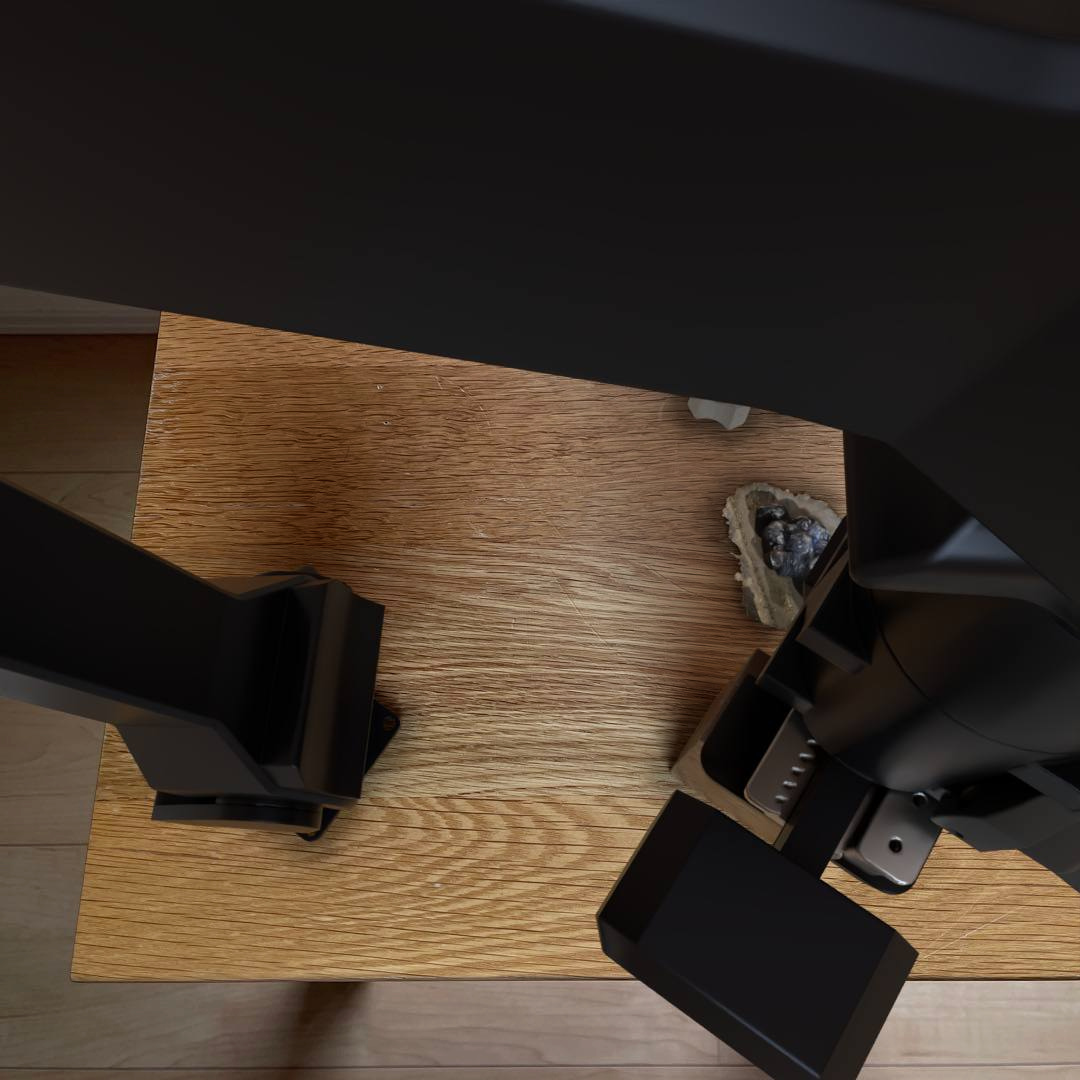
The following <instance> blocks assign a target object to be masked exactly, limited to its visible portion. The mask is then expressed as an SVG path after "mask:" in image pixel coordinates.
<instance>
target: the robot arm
mask: <svg viewBox="0 0 1080 1080" xmlns="http://www.w3.org/2000/svg"><path fill="white" fill-rule="evenodd" d="M0 286H3V287H10V288H15V289H21V290H28V291H32V292H33V291H35V292H40V293H47V294H52V295H57V296H58V295H59V296H64V297H71V298H78V299H82V300H89V301H96V302H102V303H106V304H107V303H108V304H114V305H119V306H120V305H121V306H126V307H133V308H139V309H144V310H151V311H156V312H163V313H169V314H176V315H182V316H188V317H194V318H200V319H204V320H205V319H206V320H211V321H212V320H213V321H217V322H225V323H231V324H237V325H242V326H248V327H256V328H261V329H267V330H273V331H279V332H284V333H285V332H286V333H292V334H298V335H305V336H310V337H317V338H323V339H330V340H335V341H342V342H347V343H348V342H349V343H354V344H358V345H359V344H360V345H366V346H372V347H379V348H385V349H391V350H397V351H404V352H410V353H414V354H415V353H416V354H421V355H427V356H433V357H440V358H445V359H446V358H447V359H450V360H451V359H452V360H458V361H459V360H460V361H464V362H471V363H476V364H482V365H483V364H484V365H489V366H495V367H500V368H507V369H513V370H519V371H526V372H532V373H533V372H534V373H538V374H545V375H550V376H556V377H557V376H558V377H563V378H569V379H575V380H581V381H588V382H593V383H600V384H607V385H612V386H618V387H625V388H631V389H636V390H642V391H649V392H654V393H661V394H667V395H673V396H678V397H685V398H690V397H691V398H697V399H703V400H710V401H716V402H722V403H728V404H734V405H740V406H747V407H751V408H752V409H757V410H761V411H765V412H766V411H767V412H772V413H776V414H779V415H783V416H787V417H791V418H794V419H799V420H801V421H804V422H805V421H806V422H809V423H813V424H817V425H820V426H824V427H828V428H831V429H835V430H839V431H842V432H841V433H842V449H843V450H842V452H843V468H844V469H843V470H844V473H843V474H844V490H845V491H844V492H845V510H846V511H845V513H846V514H845V515H844V516H843V517H842V519H841V522H840V524H839V525H838V527H837V528H836V530H835V532H834V533H833V535H832V537H831V538H830V540H829V541H828V543H827V545H826V546H825V548H824V550H823V551H822V553H821V554H820V556H819V558H818V559H817V561H816V562H815V564H814V566H813V567H812V569H811V571H810V572H809V574H808V575H807V577H806V579H805V580H804V582H803V605H802V607H801V608H800V610H799V612H798V613H797V615H796V616H795V618H794V620H793V621H792V623H791V625H790V626H789V628H787V629H786V631H785V633H784V635H783V636H782V638H781V639H780V641H779V643H778V644H777V646H776V647H775V649H774V650H773V652H772V654H771V657H770V659H769V661H768V662H767V664H766V666H765V667H764V669H763V670H762V672H761V674H760V675H759V677H758V679H757V678H756V677H754V676H753V675H751V674H746V676H745V678H744V679H743V681H742V682H741V684H740V686H739V687H738V689H737V691H736V692H735V694H734V695H733V697H732V699H731V700H730V702H729V703H728V705H727V707H726V708H725V710H724V712H723V713H722V715H721V716H720V718H719V720H718V721H717V723H716V725H715V726H714V728H713V729H712V731H711V733H710V734H709V736H708V738H707V739H706V741H705V742H704V744H703V746H702V749H701V753H700V763H701V767H702V770H703V772H704V774H705V775H706V777H707V778H708V779H709V780H710V781H711V782H712V783H714V784H715V785H717V786H718V787H720V788H721V789H723V790H724V791H726V792H727V793H729V794H730V795H732V796H733V797H735V798H736V799H738V800H739V801H741V802H742V803H744V804H745V805H747V806H748V807H750V808H751V809H753V810H754V811H756V812H757V813H759V814H760V815H762V816H763V817H765V818H766V819H768V820H769V821H771V822H772V823H773V824H775V825H776V826H778V827H779V828H781V831H780V832H779V834H778V836H777V838H776V839H775V841H774V843H772V844H770V843H768V841H766V840H764V839H763V838H761V837H760V836H758V835H757V834H755V833H754V832H752V831H751V830H749V829H748V828H746V827H745V826H743V825H742V824H741V823H739V822H737V821H736V820H734V819H733V818H732V817H730V816H728V814H726V813H724V812H723V811H721V810H719V809H718V808H717V807H714V806H712V805H710V804H708V803H706V802H704V801H702V800H700V799H698V798H695V797H694V796H692V795H691V794H688V793H686V792H683V791H681V790H679V789H678V788H676V789H675V790H674V791H672V793H670V795H669V797H668V798H667V800H666V801H665V802H664V805H663V806H662V807H661V808H660V810H659V811H658V812H657V814H656V816H655V817H654V819H653V821H652V822H651V823H650V825H649V826H648V828H647V830H646V831H645V833H644V835H643V836H642V838H641V840H640V841H639V843H638V845H637V846H636V847H635V849H634V851H633V852H632V854H631V855H630V857H629V859H628V860H627V862H626V864H625V866H624V867H623V869H622V871H621V872H620V874H619V875H618V877H617V878H616V880H615V882H614V883H613V885H612V886H611V888H610V890H609V891H608V893H607V895H606V896H605V898H604V900H603V901H602V902H601V904H600V906H599V908H598V909H597V911H596V912H595V914H594V918H595V922H596V927H597V933H598V939H599V944H600V948H601V952H603V954H604V955H605V956H606V957H608V958H609V959H610V960H612V961H613V963H615V964H616V965H618V966H619V967H621V968H622V969H623V970H624V971H626V972H627V973H628V974H630V976H632V977H633V978H635V979H636V980H638V981H639V982H641V983H642V984H644V985H645V986H646V987H648V988H649V989H650V990H652V991H653V992H654V993H656V995H658V996H660V997H661V998H662V999H664V1000H665V1001H666V1002H668V1003H669V1004H671V1005H672V1006H673V1007H674V1008H676V1009H677V1010H679V1011H680V1012H681V1013H683V1014H684V1015H685V1016H687V1017H688V1018H689V1019H691V1020H692V1021H693V1022H695V1023H697V1024H698V1025H699V1026H700V1027H702V1028H703V1029H704V1030H705V1031H707V1032H709V1033H710V1034H711V1035H713V1036H714V1037H715V1038H717V1039H718V1040H719V1041H721V1042H722V1043H724V1044H725V1045H726V1046H728V1047H729V1048H731V1049H732V1050H733V1051H735V1052H736V1053H737V1054H739V1055H740V1056H741V1057H742V1058H744V1059H745V1060H747V1062H749V1063H750V1064H752V1065H753V1066H755V1067H756V1068H758V1069H759V1070H760V1071H762V1072H763V1073H764V1074H766V1075H767V1076H768V1077H770V1078H771V1079H773V1080H857V1079H858V1077H859V1075H860V1073H861V1071H862V1069H863V1067H864V1065H865V1063H866V1061H867V1059H868V1058H869V1055H870V1053H871V1051H872V1050H873V1047H874V1045H875V1043H876V1041H877V1040H878V1037H879V1035H880V1033H881V1031H882V1029H883V1028H884V1025H885V1024H886V1021H887V1019H888V1017H889V1016H890V1014H891V1011H892V1010H893V1008H894V1005H895V1003H896V1001H897V999H898V997H899V996H900V994H901V992H902V990H903V988H904V985H905V983H906V982H907V980H908V978H909V975H910V974H911V972H912V970H913V968H914V966H915V964H916V962H917V960H918V958H919V956H920V952H919V951H918V950H917V949H916V948H915V947H914V946H913V944H911V943H910V942H909V941H908V940H907V939H906V938H905V937H904V936H903V935H902V934H901V933H900V932H899V931H898V930H897V929H896V928H894V927H893V926H891V925H890V924H888V923H887V922H885V921H884V920H883V919H881V918H880V917H878V916H877V915H876V914H874V913H872V912H871V911H869V910H868V909H866V908H865V907H863V906H862V905H860V904H859V903H857V902H856V901H854V900H853V899H851V898H850V897H848V896H847V895H846V894H844V893H842V892H841V891H840V890H838V889H837V888H835V887H834V886H833V885H831V884H829V883H827V882H826V881H825V880H823V879H822V876H823V875H824V872H825V871H826V869H827V867H828V865H829V863H831V864H833V865H835V866H836V867H838V868H839V869H841V870H842V871H844V872H845V873H846V874H848V875H850V876H851V877H853V878H854V879H856V880H857V881H858V882H861V883H862V884H864V885H866V886H868V887H870V888H873V889H875V890H876V891H878V892H880V893H883V894H886V895H890V896H899V895H902V894H905V893H907V892H908V891H910V890H911V889H912V888H913V886H914V885H915V884H916V882H917V880H918V878H919V877H920V874H921V873H922V871H923V870H924V869H923V868H924V867H925V865H926V864H927V861H928V859H929V857H930V855H931V853H932V851H933V849H934V848H935V846H936V844H937V842H938V839H940V836H941V834H942V832H943V830H945V831H946V832H948V833H949V834H951V835H952V836H954V837H956V838H957V839H959V840H960V841H962V842H963V843H964V844H966V845H968V846H970V847H971V848H973V849H974V850H976V851H977V852H979V853H988V852H998V851H1010V850H1017V852H1018V851H1019V852H1020V853H1022V854H1023V855H1024V856H1027V857H1028V858H1029V859H1031V860H1033V861H1034V862H1036V863H1038V864H1039V865H1040V866H1042V867H1044V868H1045V869H1047V870H1048V871H1050V872H1052V873H1053V874H1054V875H1055V876H1057V878H1059V879H1060V880H1062V881H1063V882H1064V883H1066V884H1067V885H1068V886H1069V887H1071V888H1072V889H1073V890H1074V891H1075V892H1077V893H1078V894H1080V0H0ZM385 615H386V605H385V604H381V603H379V602H376V601H373V600H370V599H367V598H365V597H363V596H361V595H359V594H357V593H355V591H354V589H353V587H351V586H350V585H349V584H348V583H347V582H345V581H342V580H340V579H339V578H337V577H336V578H332V577H329V576H326V575H322V574H321V572H320V571H319V570H318V569H317V568H316V567H314V566H311V565H300V566H298V567H296V568H294V569H293V570H274V571H267V572H266V571H265V572H262V573H258V574H257V575H254V576H253V575H252V576H233V577H232V576H230V577H206V578H205V577H204V578H203V577H201V576H199V575H196V574H195V573H193V572H192V571H189V570H187V569H185V568H183V567H181V566H180V565H177V564H176V563H174V562H171V561H170V560H167V559H165V558H163V557H162V556H159V555H157V554H156V553H153V552H152V551H150V550H148V549H146V548H144V547H142V546H139V545H138V544H136V543H134V542H132V541H131V540H128V539H126V538H124V537H122V536H120V535H118V534H116V533H114V532H113V531H111V530H108V529H106V528H104V527H103V526H101V525H98V524H97V523H94V522H93V521H91V520H89V519H87V518H85V517H84V516H81V515H79V514H77V513H75V512H73V511H71V510H69V509H68V508H65V507H63V506H62V505H60V504H57V503H56V502H53V501H51V500H49V499H47V498H46V497H45V496H44V497H43V496H42V495H40V494H38V493H36V492H34V491H32V490H30V489H28V488H26V487H24V486H23V485H20V484H18V483H16V482H14V481H12V480H10V479H8V478H6V477H4V476H2V475H1V474H0V697H1V698H5V699H10V700H13V701H17V702H21V703H25V704H30V705H33V706H37V707H40V708H41V707H42V708H45V709H49V710H53V711H56V712H61V713H64V714H69V715H72V716H77V717H81V718H85V719H89V720H93V721H95V722H100V723H104V724H108V725H111V726H113V727H115V728H116V730H117V732H118V734H119V735H120V737H121V739H122V741H123V742H124V744H125V747H126V748H127V750H128V752H129V753H130V756H131V757H132V759H133V761H134V762H135V764H136V766H137V767H138V769H139V771H140V772H141V774H142V776H143V778H144V780H145V781H146V782H147V786H149V788H150V789H151V790H153V791H155V796H154V800H153V801H154V802H153V805H152V806H153V807H152V811H151V817H150V821H155V822H161V823H169V824H177V825H184V826H185V825H186V826H197V827H198V826H199V827H213V828H226V829H238V830H239V829H241V830H256V831H268V832H269V831H270V832H281V833H294V834H295V835H297V836H298V837H300V839H302V840H303V841H306V842H308V843H316V842H319V841H320V840H321V839H323V837H324V836H325V834H326V833H327V832H328V830H329V829H330V828H331V826H332V825H333V823H334V822H335V821H336V819H337V818H338V816H339V815H340V814H341V812H342V811H352V810H353V809H354V808H355V807H356V806H357V805H358V802H359V800H361V798H362V793H363V784H364V781H365V779H366V778H367V776H368V775H369V774H370V772H371V771H372V770H373V768H374V767H375V765H376V764H377V763H378V761H379V760H380V758H381V757H382V756H383V755H384V753H385V752H386V750H388V748H389V746H390V745H391V744H392V742H394V740H395V739H396V737H397V736H398V734H399V733H400V731H401V729H402V721H401V718H400V717H399V716H398V715H397V714H396V713H395V712H393V711H392V710H390V708H388V707H387V706H384V704H382V703H381V702H379V701H378V700H377V699H375V692H376V691H375V689H376V683H377V676H378V675H377V674H378V669H379V659H380V654H381V653H380V652H381V645H382V637H383V636H382V635H383V629H384V621H385ZM389 720H390V721H391V720H392V721H394V725H393V727H391V728H387V727H386V723H387V722H388V721H389ZM314 832H315V833H314ZM311 833H314V834H313V835H310V834H311Z"/></svg>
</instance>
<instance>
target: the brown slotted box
mask: <svg viewBox="0 0 1080 1080" xmlns="http://www.w3.org/2000/svg"><path fill="white" fill-rule="evenodd" d="M771 656H772V654H769V653H768V652H766V651H765V650H763V649H761V648H760V647H756V648H755V649H754V650H753V651H752V653H751V654H750V655H749V656H748V658H747V659H746V660H745V661H744V662H743V664H742V665H741V666H740V668H739V669H738V670H737V671H736V672H735V674H734V675H733V676H732V677H731V678H730V680H729V681H728V682H727V683H726V685H725V686H724V687H723V688H722V689H721V690H720V692H719V693H718V694H717V696H716V697H715V698H714V699H713V700H712V703H711V704H710V705H709V707H708V708H707V710H706V712H705V713H704V715H703V717H702V719H701V720H700V722H699V723H698V725H697V727H696V728H695V730H694V731H693V733H692V734H691V736H690V738H689V739H688V741H687V742H686V744H685V746H684V747H683V749H682V751H681V752H680V753H679V756H678V757H677V759H676V760H675V762H674V763H673V765H672V766H671V768H670V770H669V773H668V774H669V775H671V776H672V777H673V778H675V779H677V780H678V781H679V782H681V783H683V784H684V785H685V786H687V787H689V788H690V789H691V790H693V791H694V792H696V793H697V794H699V795H700V796H702V797H703V798H705V799H706V800H708V801H709V802H711V803H712V804H713V805H715V806H716V807H718V808H719V809H721V810H723V811H724V812H725V813H727V814H729V816H731V817H733V818H735V819H736V820H737V821H738V822H740V823H742V824H743V825H744V826H746V827H748V828H750V829H751V830H752V831H753V832H755V833H757V834H758V835H760V836H761V837H763V838H764V839H765V840H767V841H768V842H770V843H771V844H773V843H774V841H775V839H776V838H777V836H778V834H779V832H780V831H781V828H779V827H778V826H776V825H775V824H773V823H772V822H771V821H769V820H768V819H766V818H765V817H763V816H762V815H760V814H759V813H757V812H756V811H754V810H753V809H751V808H750V807H748V806H747V805H745V804H744V803H742V802H741V801H739V800H738V799H736V798H735V797H733V796H732V795H730V794H729V793H727V792H726V791H724V790H723V789H721V788H720V787H718V786H717V785H715V784H714V783H712V782H711V781H710V780H709V779H708V778H707V777H706V775H705V774H704V772H703V770H702V767H701V763H700V753H701V749H702V746H703V744H704V742H705V741H706V739H707V738H708V736H709V734H710V733H711V731H712V729H713V728H714V726H715V725H716V723H717V721H718V720H719V718H720V716H721V715H722V713H723V712H724V710H725V708H726V707H727V705H728V703H729V702H730V700H731V699H732V697H733V695H734V694H735V692H736V691H737V689H738V687H739V686H740V684H741V682H742V681H743V679H744V678H745V676H746V674H751V675H753V676H754V677H756V678H757V679H758V677H759V675H760V674H761V672H762V670H763V669H764V667H765V666H766V664H767V662H768V661H769V659H770V657H771Z"/></svg>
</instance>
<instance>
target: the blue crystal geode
mask: <svg viewBox="0 0 1080 1080" xmlns="http://www.w3.org/2000/svg"><path fill="white" fill-rule="evenodd" d="M724 506H725V507H723V509H722V510H721V511H722V515H721V517H725V518H726V519H727V521H726V522H725V523H726V525H729V526H728V532H727V533H728V534H729V535H728V536H727V538H729V539H730V540H731V542H732V543H733V544H735V545H736V546H737V547H738V549H739V550H740V553H741V554H740V555H739V554H736V553H733V552H729V554H730V555H733V556H734V557H735V559H736V560H737V559H739V562H737V564H738V565H741V566H740V571H741V573H740V572H739V571H737V572H736V573H735V575H734V580H736V581H737V582H740V581H742V582H741V583H742V587H741V590H742V592H741V595H742V600H741V606H743V607H745V610H746V611H745V613H746V614H745V615H746V616H748V617H750V616H751V617H752V620H754V621H755V620H756V622H757V623H759V624H760V625H763V626H765V625H766V626H770V627H772V628H775V629H777V630H779V629H780V630H783V629H784V630H786V631H787V630H788V628H789V626H790V625H791V623H792V621H793V620H794V618H795V616H796V615H797V613H798V612H799V610H800V608H801V607H802V605H803V582H804V580H805V579H806V577H807V575H808V574H809V572H810V571H811V569H812V567H813V566H814V564H815V562H816V561H817V559H818V558H819V556H820V554H821V553H822V551H823V550H824V548H825V546H826V545H827V543H828V541H829V540H830V538H831V537H832V535H833V533H834V532H835V530H836V528H837V527H838V525H839V524H840V522H841V520H842V519H841V517H839V516H838V514H837V513H835V512H834V510H833V509H831V508H830V507H829V504H828V502H827V501H824V500H822V499H813V498H811V495H809V494H808V493H807V492H804V493H803V494H802V493H801V494H800V493H799V492H798V493H797V495H796V496H795V495H794V493H792V492H790V490H789V489H788V488H786V489H784V490H782V489H781V488H780V487H777V486H772V485H770V484H769V483H768V482H761V481H760V482H759V481H757V482H751V483H747V484H745V485H742V486H741V487H738V486H737V487H736V490H735V494H733V495H729V496H728V497H727V498H726V504H724Z"/></svg>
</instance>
